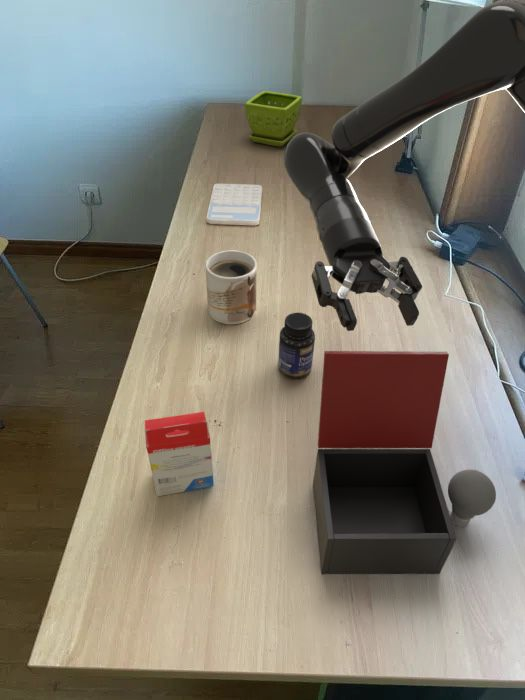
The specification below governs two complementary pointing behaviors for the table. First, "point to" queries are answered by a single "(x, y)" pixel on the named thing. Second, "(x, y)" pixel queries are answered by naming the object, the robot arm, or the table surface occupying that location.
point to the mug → (231, 286)
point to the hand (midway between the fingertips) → (383, 324)
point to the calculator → (235, 204)
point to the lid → (380, 398)
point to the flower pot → (272, 117)
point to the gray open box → (380, 512)
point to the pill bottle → (296, 346)
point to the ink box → (179, 453)
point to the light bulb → (470, 496)
